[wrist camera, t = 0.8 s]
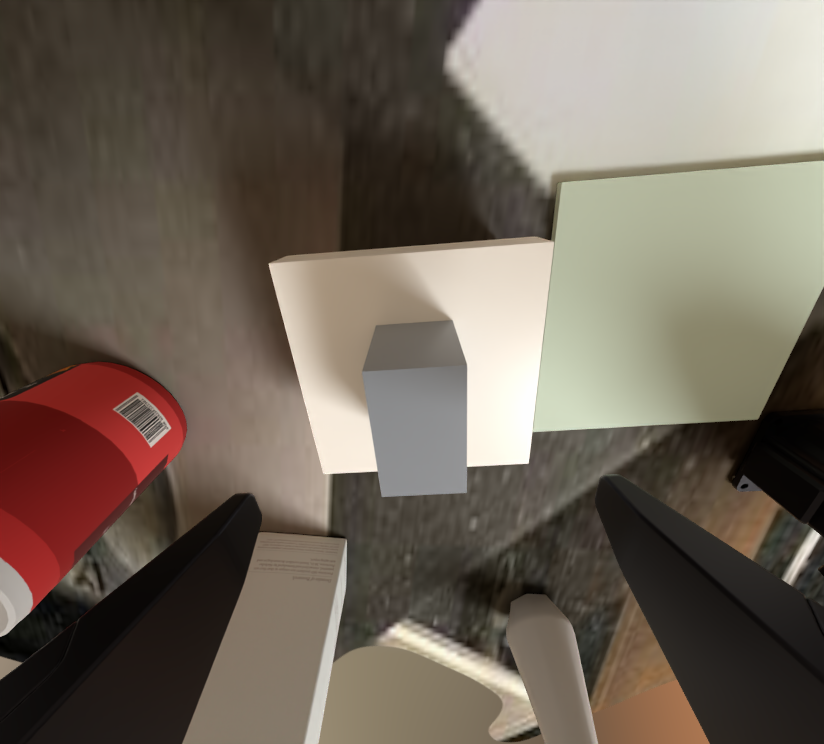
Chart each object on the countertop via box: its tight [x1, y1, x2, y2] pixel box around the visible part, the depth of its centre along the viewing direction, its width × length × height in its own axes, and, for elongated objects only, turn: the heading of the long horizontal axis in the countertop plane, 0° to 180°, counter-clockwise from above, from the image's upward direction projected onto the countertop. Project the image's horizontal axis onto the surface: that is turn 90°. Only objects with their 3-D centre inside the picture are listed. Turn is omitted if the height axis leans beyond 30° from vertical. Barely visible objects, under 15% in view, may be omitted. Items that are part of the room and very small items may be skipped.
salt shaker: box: [506, 594, 598, 744], centre depth 25 cm, size 6×6×13 cm
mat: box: [532, 160, 824, 432], centre depth 18 cm, size 14×14×1 cm
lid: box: [269, 236, 554, 497], centre depth 13 cm, size 10×10×6 cm
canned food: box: [0, 362, 187, 637], centre depth 16 cm, size 8×8×11 cm
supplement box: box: [182, 532, 347, 744], centre depth 23 cm, size 7×7×13 cm
